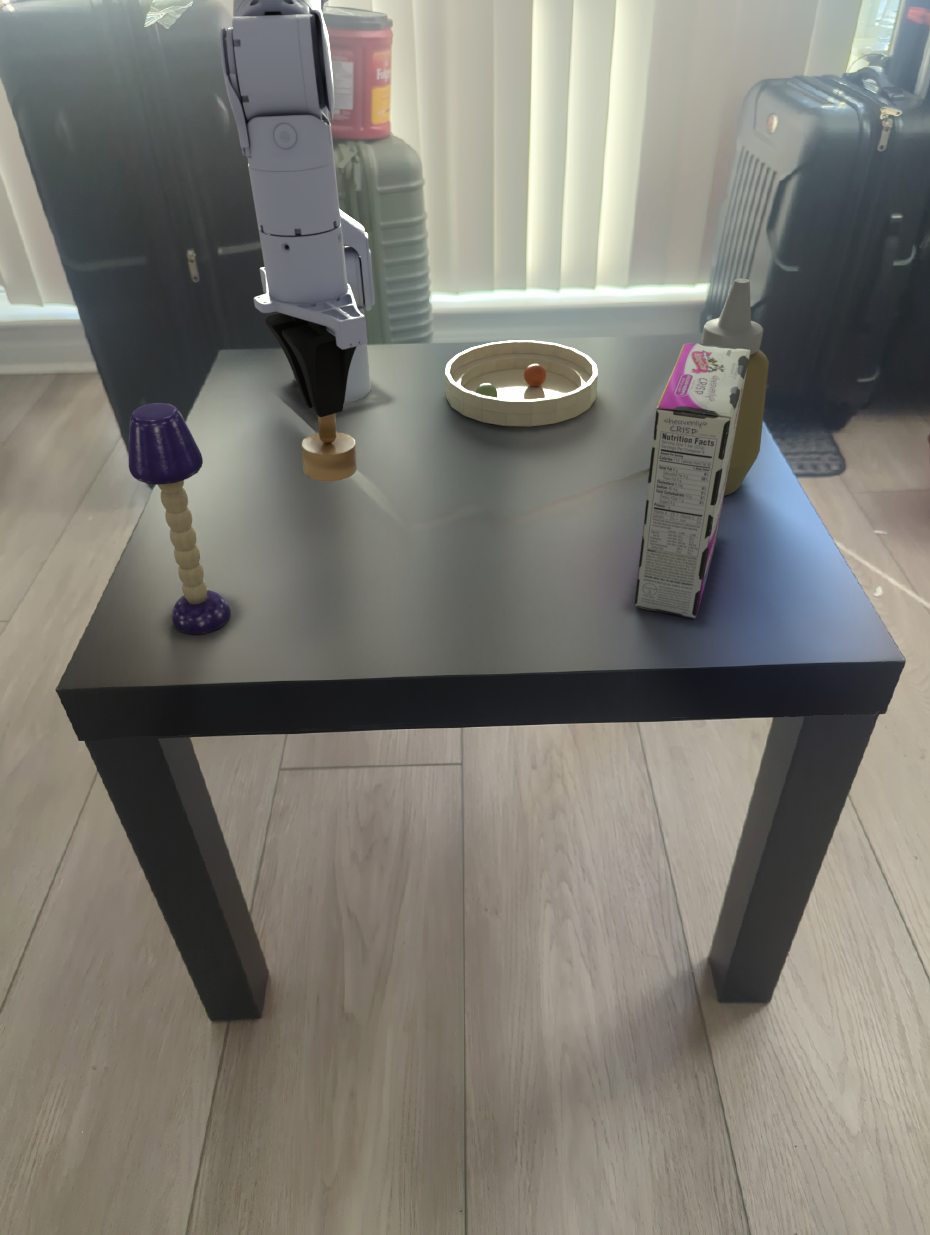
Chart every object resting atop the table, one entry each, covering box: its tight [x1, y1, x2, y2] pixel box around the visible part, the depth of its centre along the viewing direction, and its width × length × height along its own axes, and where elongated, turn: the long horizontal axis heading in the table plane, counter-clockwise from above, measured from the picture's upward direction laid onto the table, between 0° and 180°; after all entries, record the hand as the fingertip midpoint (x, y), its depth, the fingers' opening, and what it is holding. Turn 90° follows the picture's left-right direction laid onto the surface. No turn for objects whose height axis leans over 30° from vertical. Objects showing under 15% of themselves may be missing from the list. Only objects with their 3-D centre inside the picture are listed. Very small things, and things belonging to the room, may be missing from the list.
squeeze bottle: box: [700, 277, 770, 497], centre depth 72 cm, size 8×8×18 cm
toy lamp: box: [128, 402, 232, 635], centre depth 59 cm, size 5×5×17 cm
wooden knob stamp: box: [300, 413, 358, 482], centre depth 68 cm, size 4×4×9 cm
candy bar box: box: [634, 342, 750, 619], centre depth 62 cm, size 11×5×16 cm, turn 160°
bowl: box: [444, 340, 599, 427], centre depth 91 cm, size 16×16×4 cm
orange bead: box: [524, 364, 546, 387], centre depth 92 cm, size 2×2×2 cm
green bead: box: [475, 383, 498, 398], centre depth 89 cm, size 2×2×2 cm
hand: (324, 408), depth 68 cm, fingers closed on wooden knob stamp
